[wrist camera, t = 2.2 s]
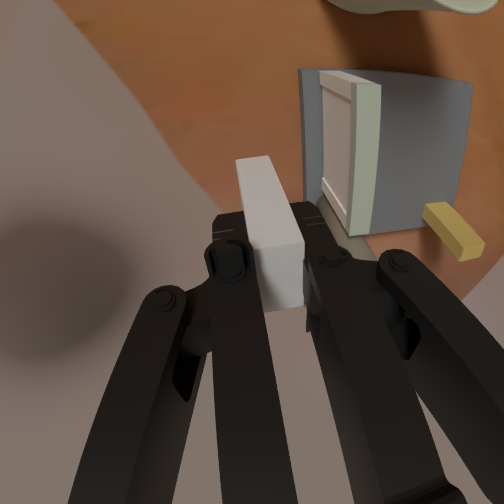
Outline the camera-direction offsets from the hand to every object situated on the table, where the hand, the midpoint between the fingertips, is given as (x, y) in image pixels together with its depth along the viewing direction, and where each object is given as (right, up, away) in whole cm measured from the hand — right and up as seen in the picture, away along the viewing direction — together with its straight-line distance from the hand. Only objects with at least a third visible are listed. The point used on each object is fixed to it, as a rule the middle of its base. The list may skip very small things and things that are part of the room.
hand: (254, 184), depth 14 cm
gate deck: (+13, +6, +11) cm, 18 cm away
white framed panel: (+6, +6, +8) cm, 12 cm away
